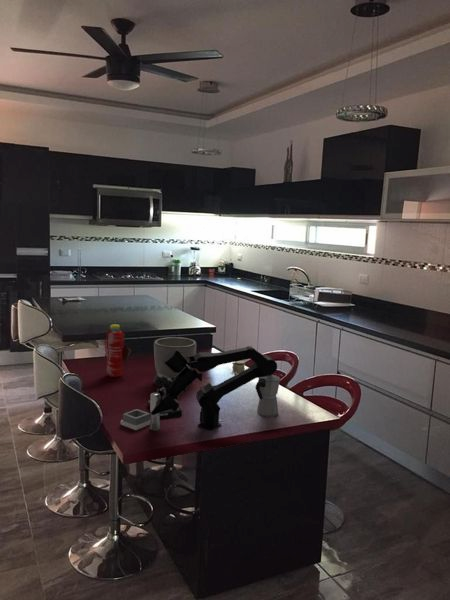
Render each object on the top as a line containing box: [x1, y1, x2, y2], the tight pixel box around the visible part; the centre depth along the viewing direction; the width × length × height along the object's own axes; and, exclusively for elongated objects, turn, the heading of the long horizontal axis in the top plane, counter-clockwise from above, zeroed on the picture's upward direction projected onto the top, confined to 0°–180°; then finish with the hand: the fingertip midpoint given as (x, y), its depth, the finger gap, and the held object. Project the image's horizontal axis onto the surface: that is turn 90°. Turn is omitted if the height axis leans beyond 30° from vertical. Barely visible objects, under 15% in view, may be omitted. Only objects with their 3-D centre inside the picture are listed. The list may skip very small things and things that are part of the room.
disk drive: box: [147, 399, 183, 419], centre depth 202 cm, size 10×3×15 cm
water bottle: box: [104, 323, 132, 378], centre depth 243 cm, size 12×8×25 cm, turn 116°
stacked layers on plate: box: [231, 360, 246, 374], centre depth 259 cm, size 10×9×6 cm
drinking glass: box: [149, 392, 161, 432], centre depth 183 cm, size 3×3×13 cm
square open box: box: [120, 408, 150, 431], centre depth 187 cm, size 8×8×4 cm
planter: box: [153, 336, 197, 378], centre depth 237 cm, size 20×20×19 cm
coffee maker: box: [255, 374, 281, 417], centre depth 202 cm, size 15×9×18 cm, turn 141°
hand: (151, 411), depth 182 cm, fingers open, 5 cm apart
